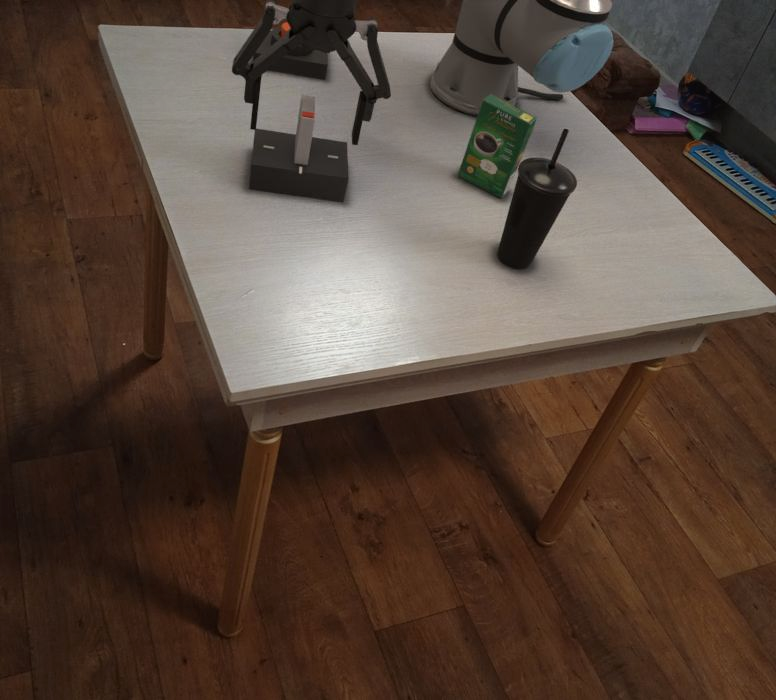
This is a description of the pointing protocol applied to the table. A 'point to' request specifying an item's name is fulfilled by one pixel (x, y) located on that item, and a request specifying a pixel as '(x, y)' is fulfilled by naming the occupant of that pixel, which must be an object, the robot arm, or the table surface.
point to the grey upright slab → (304, 129)
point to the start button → (284, 28)
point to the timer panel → (299, 167)
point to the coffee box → (496, 145)
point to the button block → (295, 58)
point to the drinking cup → (534, 207)
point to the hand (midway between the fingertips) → (304, 132)
